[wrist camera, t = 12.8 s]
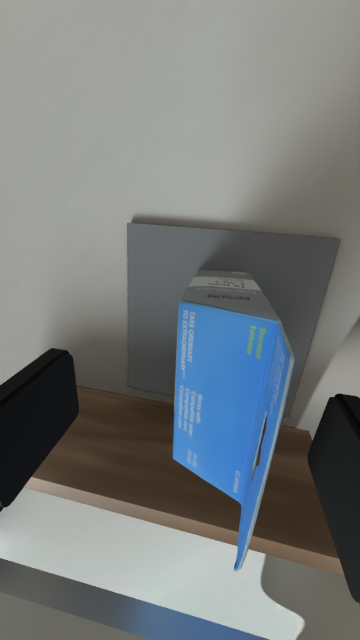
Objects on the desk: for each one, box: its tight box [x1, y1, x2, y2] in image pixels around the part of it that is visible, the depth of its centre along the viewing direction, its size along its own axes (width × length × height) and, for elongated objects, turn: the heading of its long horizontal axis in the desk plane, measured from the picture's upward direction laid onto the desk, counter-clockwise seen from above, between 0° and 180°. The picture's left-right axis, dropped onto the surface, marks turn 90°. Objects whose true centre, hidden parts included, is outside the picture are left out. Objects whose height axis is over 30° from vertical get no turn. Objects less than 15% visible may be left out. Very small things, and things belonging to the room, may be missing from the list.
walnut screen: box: [24, 386, 344, 575], centre depth 19 cm, size 1×26×9 cm, turn 86°
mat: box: [127, 223, 341, 417], centre depth 19 cm, size 14×14×1 cm
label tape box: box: [172, 270, 295, 572], centre depth 13 cm, size 9×4×12 cm, turn 178°
